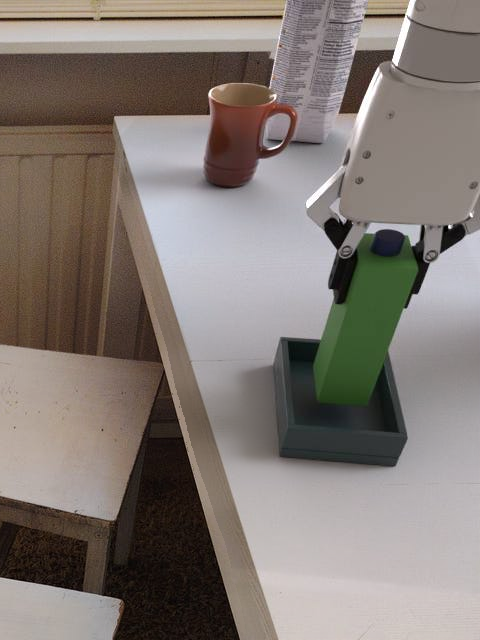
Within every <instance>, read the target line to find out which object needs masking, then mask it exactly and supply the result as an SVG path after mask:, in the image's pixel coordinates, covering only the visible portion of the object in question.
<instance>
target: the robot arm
mask: <svg viewBox="0 0 480 640" xmlns="http://www.w3.org/2000/svg"><path fill="white" fill-rule="evenodd" d="M403 19H404V20H403V23H402V27H401V30H400V33H399V36H398V40H397V43H396V46H395V50H394V52H393V53H394V54H393V57H392V59H391V60H387V61H383V62H381V63H380V64H379V65H378V67H377V69H376V70H375V72H374V74H373V77H372V79H371V81H370V83H369V86H368V88H367V91H366V93H365V95H364V97H363V99H362V102H361V104H360V107H359V109H358V112H357V115H356V118H355V121H354V124H353V126H352V129H351V132H350V134H349V137H348V140H347V144H346V147H345V149H344V152H343V156H342V158H341V162H340V165H339V167H338V170H337V171H336V172H335V173H334V174H333V175H332V176H331V177H330V178H329V179H328V180H326V182H325V183H324V184H322V186H321V187H320V188H319V189H318V190H317V191H316V192H315V193H314V194H313V195H312V196H311V197H310V198H309V199H308V200H307V201H306V202H305V211H306V212H305V213H306V216H307V217H308V218H309V219H310V220H312V221H313V222H314V224H316V226H318V227H319V228H320V229H321V230H323V232H324V234H325V235H326V237H327V238H328V239H329V241H330V243H331V244H332V246H333V247H334V248H335V249H336V253H335V255H334V259H333V263H332V266H331V270H330V273H329V276H328V281H327V287H328V288H327V289H328V290H331V291H332V294H333V299H334V300H335V304H338V305H342V303H344V302H345V299H346V296H347V293H348V290H349V287H350V283H351V280H352V277H353V274H354V271H355V268H356V264H357V257H356V251H357V246H358V245H359V243H360V241H361V239H362V238H363V236H364V234H365V233H367V230H368V229H369V228H370V225H371V224H372V223H373V224H389V225H390V224H391V225H407V226H408V225H410V226H419V232H418V241H417V242H416V243H415V245H411V247H412V250H413V253H414V257H415V260H416V263H417V267H418V272H417V275H416V277H415V280H414V283H413V285H412V288H411V290H410V293H409V296H408V298H407V301H406V304H405V306H404V309H405V310H406V309H408V308H409V305H410V302H411V300H412V297H413V295H418V294H419V293H420V291H421V289H422V285H423V283H424V280H425V278H426V275H427V273H428V270H429V268H430V265H431V264H432V263H434V262H436V261H437V260H438V259H439V258H440V255H441V254H442V253H445V252H446V251H447V250H448V249H450V248H452V247H453V246H455V245H456V244H458V243H460V242H461V241H462V240H463V239H464V238H465V237H466V236H468V235H469V236H470V235H472V234H474V233H477V232H478V231H480V0H409V3H408V6H407V9H406V13H405V16H404V18H403ZM339 198H340V199H339ZM338 199H339V203H338V212H339V214H340V216H342V217H343V218H344V220H342V219H341V218H340V216H339V215H338V214H337V213H336V212H334V211H333V210H332V209H331V206H332V205H333V204H334V203H335V202H336V201H337V200H338ZM404 309H403V310H404Z"/></svg>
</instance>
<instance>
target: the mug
mask: <svg viewBox="0 0 480 640" xmlns="http://www.w3.org/2000/svg"><path fill="white" fill-rule="evenodd" d="M276 100H277V94H276V93H275V92H274V91H273V90H271V89H269V87H267V86H264V85H260V84H255V83H247V82H237V83H236V82H231V83H225V84H221V85H217V86H215V87H213V88H211V89H210V90H209V92H208V104H209V127H208V131H207V132H208V133H207V137H206V144H205V149H204V156H203V158H202V159H203V164H202V168H203V177H205V179H206V180H207V181H208V182H210V183H211V184H213V185H216V186H219V187H224V188H225V187H226V188H234V187H235V188H236V187H241V186H244V185H246V184H248V183H250V182H251V181H252V180H253V179H254V177H255V174H256V172H257V170H258V166H259V164H260V160H265V159H270V158H273V157H275V156H278V155H280V154H281V153H282V152H284V151H285V150H286V149H287V147H288V146H289V145H290V143H291V142H292V141H291V140H292V138H293V136H294V133H295V130H296V127H297V121H298V115H297V112H296V110H295V109H294V108H293V107H291V106H289V105H284V104H277V103H276ZM276 114H287V115H288V116H289V117H290V126H289V129H288V132H287V135H286V137H285V139H284V140H282V142H280V143H279V144H278V145H276V146H272V147H268V146H265V145H264V135H265V131H266V122H267V120H268V118H270V117H272V116H274V115H276Z"/></svg>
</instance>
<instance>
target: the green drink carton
mask: <svg viewBox="0 0 480 640" xmlns="http://www.w3.org/2000/svg"><path fill="white" fill-rule="evenodd" d="M356 257H357V264H356V268H355V271H354V274H353V277H352V280H351V283H350V287H349V290H348V293H347V296H346V299H345V302H344V303H342V305H338V304H335V300H334V298H333V299H332V303H331V306H330V309H329V312H328V316H327V319H326V322H325V325H324V329H323V332H322V334H321V335H322V336H321V342H320V345H319V348H318V352H317V355H316V358H315V361H314V365H313V371H314V380H315V388H316V396H317V402H318V403H330V404H344V405H357V406H367V405H368V402H369V399H370V397H371V394H372V391H373V389H374V386H375V383H376V381H377V378H378V375H379V373H380V370H381V367H382V365H383V362H384V360H385V357H386V354H387V352H388V351H389V349H390V346H391V343H392V341H393V338H394V336H395V333H396V330H397V328H398V325H399V322H400V319H401V317H402V315H403V312H404V306H405V304H406V301H407V298H408V296H409V293H410V290H411V288H412V285H413V283H414V280H415V277H416V275H417V272H418V267H417V263H416V260H415V257H414V253H413V250H412V243H411V240H410V237H409V235H408V234H404V233H403V232H401V231H398V230H396V229H390V228H383V229H378V230H377V231H376V232H375V233H370V232H369V233H368V232H365V234H364V236H363V238H362V239H361V241H360V243H359V245H358V246H357V251H356Z"/></svg>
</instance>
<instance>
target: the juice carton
mask: <svg viewBox="0 0 480 640" xmlns="http://www.w3.org/2000/svg"><path fill="white" fill-rule="evenodd" d="M368 3H369V0H286V2H285V6H284V7H285V8H284V12H283V16H282V21H281V27H280V31H279V32H280V33H279V37H278V42H277V47H276V52H275V58H274V61H273V68H272V72H271V78H270V83H269V87H268V88H269V89H271V90H273V91H274V92H275V93H276V94H277V100H276V103H277V104H284V105H289V106H291V107H293V108H294V109H295V110H296V112H297V115H298V121H297V127H296V130H295V133H294V136H293V138H292V140H291V141H290V142H300V143H313V144H324V143H325V142H326V141H327V139H328V137H329V134H330V132H331V131H332V129H333V127H334V125H335V122H336V121H337V118H338V116H339V113H340V110H341V107H342V103H343V99H344V96H345V92H346V88H347V85H348V84H347V83H348V80H349V77H350V73H351V69H352V65H353V61H354V57H355V54H356V51H357V46H358V42H359V38H360V35H361V30H362V27H363V23H364V19H365V15H366V11H367V7H368ZM289 126H290V117H289V116H288V115H287V114H276V115H274V116H272V117H270V118H268V120H267V122H266V126H265V134H266V139H267V140H273V141H284V139H285V137H286V135H287V132H288V129H289Z"/></svg>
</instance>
